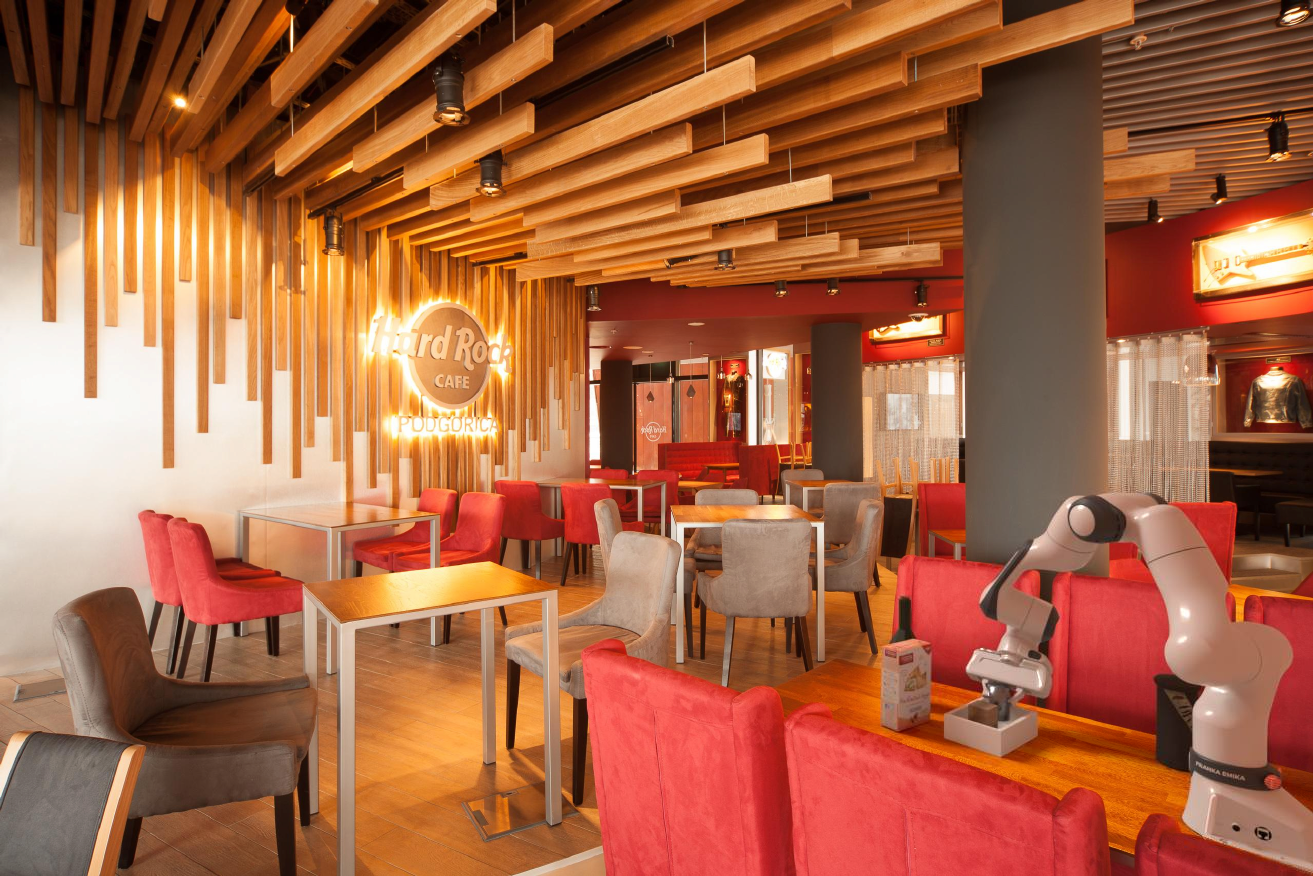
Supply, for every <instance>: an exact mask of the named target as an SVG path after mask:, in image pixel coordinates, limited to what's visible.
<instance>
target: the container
mask: <svg viewBox="0 0 1313 876" xmlns="http://www.w3.org/2000/svg"><path fill="white" fill-rule="evenodd" d="M1152 679H1153V682H1154V683H1155V685H1156V717H1155V718H1156V721H1155V722H1156V725H1155V727H1156V728H1155V729H1156V733H1155V758H1156V761H1157V762H1159V764H1161V765H1164V766H1165V767H1168V768H1171V769H1174V770H1179V771H1185V772H1190V770H1189V752H1190V747H1192V745H1193V707H1194V705H1195V703H1196V701H1197V700H1198V699H1199V692H1200V691H1201V690H1202V688H1203V687H1202V685H1196V684H1191V683H1188V682H1186V681H1184V680H1182V679H1180V678H1179V677H1178V676H1176V675H1175V674H1174V673H1157V674H1155V675H1153V678H1152Z"/></svg>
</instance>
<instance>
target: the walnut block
mask: <svg viewBox="0 0 1313 876" xmlns="http://www.w3.org/2000/svg"><path fill="white" fill-rule="evenodd" d="M973 701H974V700H973ZM971 702H972V701H971ZM969 703H970V702H969ZM968 720H970V721H974V722H977V723H980V724H983V725H986V726H990V727H993V728H996V729H998V706H997V705H994V704H990V703H987V702H983V701H980V700H977V701H974V702H972V703H970V704H968Z"/></svg>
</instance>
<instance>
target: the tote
mask: <svg viewBox="0 0 1313 876" xmlns="http://www.w3.org/2000/svg"><path fill="white" fill-rule="evenodd" d="M977 700H980V701H983V702H987V703H988V699H986V698H983V696H981V697H979V698H976V699H974V700H972V701H970V702H968V703H965V704H963V705H961V706H958V707H957V708H954V709H952V710H949V711H948V712H945V713H943V739H945V740H949V741H952V742H955V743H957V744H961V745H963V746H966V747H969V748H972V749H975V750H978V751H981V752H983V753H987V754H990V755H993V756H996V757H998V758H1002V757H1004V756H1006V755H1007V754H1009V753H1011V752H1012V751H1014V750H1016V749H1018V748H1019V747H1022V746H1023V745H1025V744H1026V743H1028V742H1030V741H1031V740H1033V739H1035V738H1037V737H1038V736H1039V735H1038V731H1039V728H1038V726H1039V724H1038V722H1039V721H1038V719H1039V718H1038V715H1039V714H1038V711H1034V710H1032V709H1031V710H1030V709H1028V708H1025V707H1021V706H1018V705H1016V706H1015V707H1014V706H1011V705H1010V720H1009V721H1005V722H1004V721H998V729H996V728H993V727H990V726H986V725H983V724H980V723H977V722H974V721H970V720H968V704H970V703H972V702H974V701H977Z"/></svg>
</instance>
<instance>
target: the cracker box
mask: <svg viewBox="0 0 1313 876" xmlns="http://www.w3.org/2000/svg"><path fill="white" fill-rule="evenodd" d="M931 683H932V643H931V642H927V641H925V640H920V639H918V638H917V639H911V640H906V641H902V642H898V643H893V644H885V645H882V646H881V683H880V685H881V691H880V692H881V693H880V695H881V697H880V725H881V726H883V727H885V728H888V729H889V730H893V731H895V732H898V733H899V732H902V731H904V730H909V729H910V728H913V727H916V726H920V725H923V724H924V723H928V722H930V721H931V695H932V694H931V689H932V686H931Z"/></svg>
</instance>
